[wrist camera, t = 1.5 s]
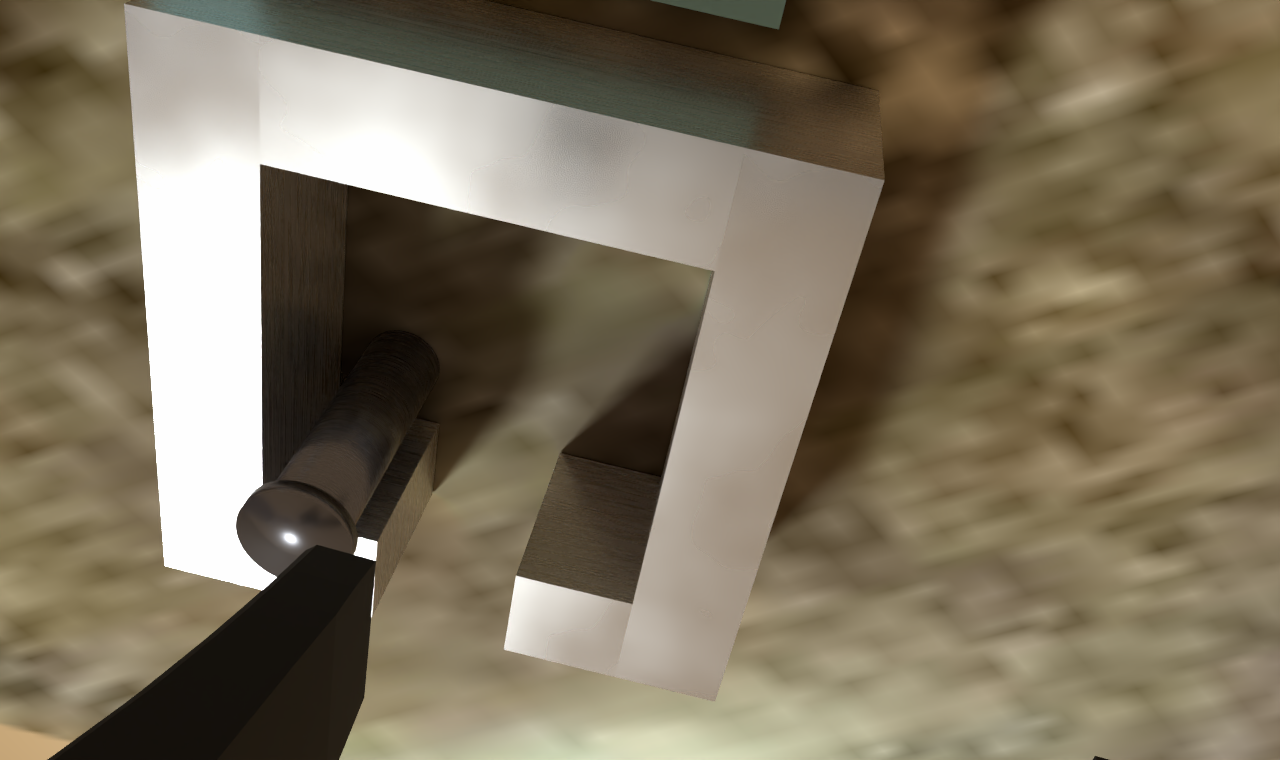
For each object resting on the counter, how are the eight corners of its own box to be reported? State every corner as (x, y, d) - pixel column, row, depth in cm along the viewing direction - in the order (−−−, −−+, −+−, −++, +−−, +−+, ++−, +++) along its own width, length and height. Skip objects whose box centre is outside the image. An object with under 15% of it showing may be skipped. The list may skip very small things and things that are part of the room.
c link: (251, 450, 23) (164, 565, 20) (244, -56, 18) (124, 3, 15) (731, 567, 23) (714, 701, 20) (878, 91, 17) (884, 180, 14)
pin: (354, 390, 22) (236, 569, 18) (358, 311, 21) (233, 479, 17) (445, 412, 22) (348, 596, 18) (453, 334, 21) (353, 509, 17)
